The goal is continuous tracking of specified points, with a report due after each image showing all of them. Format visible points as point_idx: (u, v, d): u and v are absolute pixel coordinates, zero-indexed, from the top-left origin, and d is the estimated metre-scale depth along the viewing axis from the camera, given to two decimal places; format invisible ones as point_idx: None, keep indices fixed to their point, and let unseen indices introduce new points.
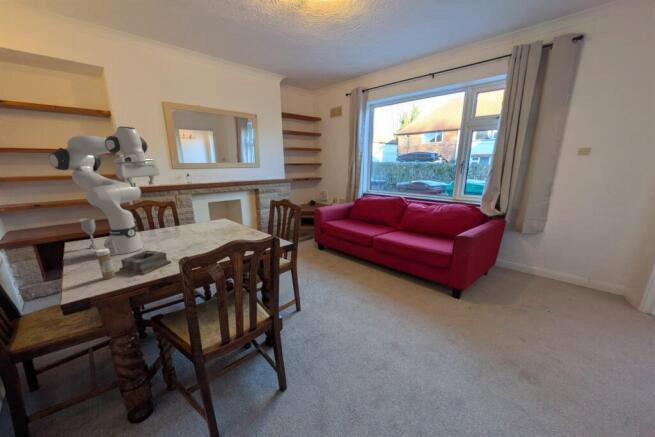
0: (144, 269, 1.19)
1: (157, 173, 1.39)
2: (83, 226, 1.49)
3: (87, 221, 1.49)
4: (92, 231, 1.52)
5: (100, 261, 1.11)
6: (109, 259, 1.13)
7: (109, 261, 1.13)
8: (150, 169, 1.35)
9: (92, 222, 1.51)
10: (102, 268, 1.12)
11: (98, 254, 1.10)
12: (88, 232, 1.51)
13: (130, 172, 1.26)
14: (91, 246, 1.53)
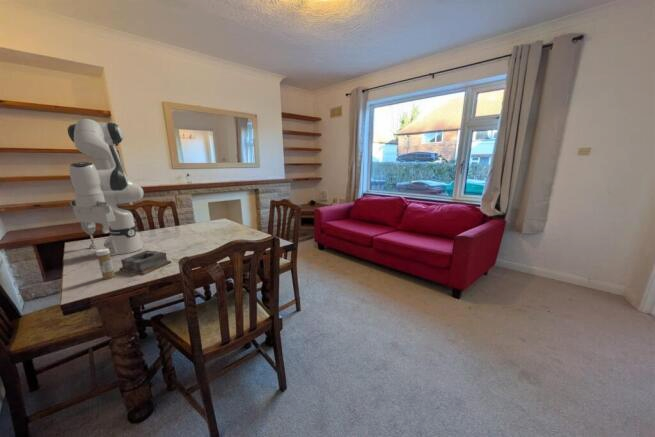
0: (144, 269, 1.19)
1: (104, 222, 1.05)
2: (83, 226, 1.49)
3: None
4: None
5: (100, 261, 1.11)
6: (109, 259, 1.13)
7: (109, 261, 1.13)
8: (97, 216, 1.05)
9: None
10: (102, 268, 1.12)
11: (98, 254, 1.10)
12: (88, 232, 1.51)
13: (82, 217, 1.09)
14: (91, 246, 1.53)
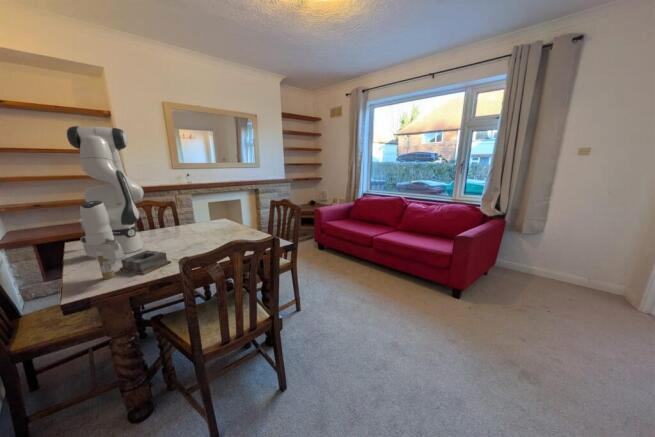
0: (144, 269, 1.19)
1: (113, 258, 1.09)
2: (83, 226, 1.49)
3: None
4: None
5: (100, 261, 1.11)
6: None
7: (109, 261, 1.13)
8: (107, 252, 1.09)
9: None
10: (102, 268, 1.12)
11: (98, 254, 1.10)
12: None
13: (92, 252, 1.13)
14: None
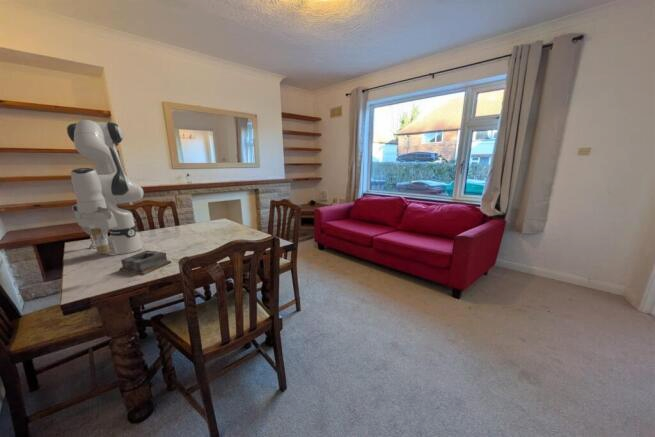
0: (144, 269, 1.19)
1: (105, 227, 1.05)
2: None
3: None
4: None
5: (94, 234, 1.08)
6: None
7: None
8: (99, 221, 1.06)
9: None
10: (96, 242, 1.09)
11: (91, 227, 1.07)
12: (88, 232, 1.51)
13: (84, 222, 1.09)
14: (91, 246, 1.53)
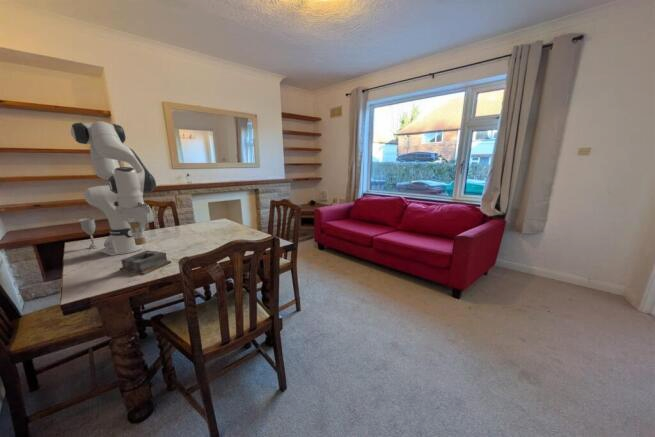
0: (144, 269, 1.19)
1: (144, 221, 1.16)
2: (83, 226, 1.49)
3: (87, 221, 1.49)
4: (92, 231, 1.52)
5: (133, 227, 1.18)
6: None
7: None
8: (138, 215, 1.16)
9: (92, 222, 1.51)
10: (135, 234, 1.19)
11: (131, 221, 1.17)
12: (88, 232, 1.51)
13: (123, 216, 1.20)
14: (91, 246, 1.53)
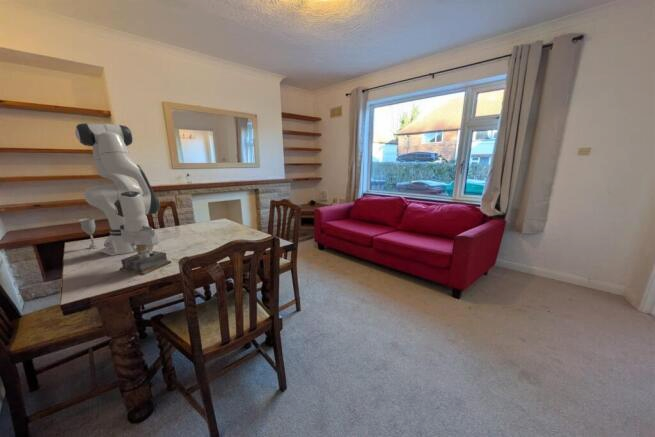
0: (144, 269, 1.19)
1: (149, 244, 1.18)
2: (83, 226, 1.49)
3: (87, 221, 1.49)
4: (92, 231, 1.52)
5: (139, 250, 1.21)
6: (146, 248, 1.23)
7: (146, 250, 1.23)
8: (143, 239, 1.19)
9: (92, 222, 1.51)
10: (140, 256, 1.22)
11: (137, 243, 1.20)
12: (88, 232, 1.51)
13: (128, 239, 1.22)
14: (91, 246, 1.53)
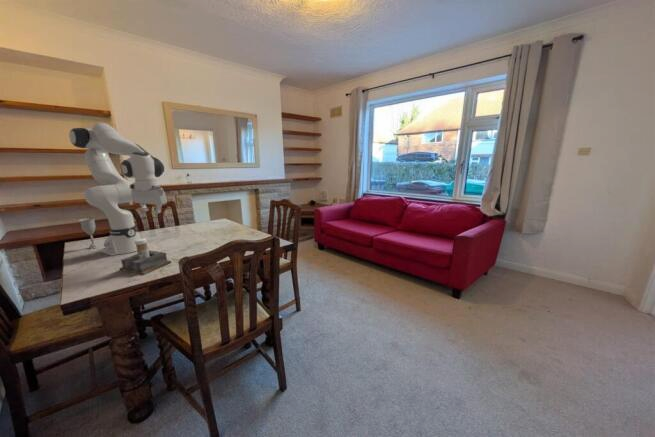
0: (144, 269, 1.19)
1: (158, 203, 1.24)
2: (83, 226, 1.49)
3: (87, 221, 1.49)
4: (92, 231, 1.52)
5: (139, 250, 1.21)
6: (146, 248, 1.23)
7: (146, 250, 1.23)
8: (152, 198, 1.24)
9: (92, 222, 1.51)
10: (140, 256, 1.22)
11: (137, 243, 1.20)
12: (88, 232, 1.51)
13: (138, 198, 1.28)
14: (91, 246, 1.53)
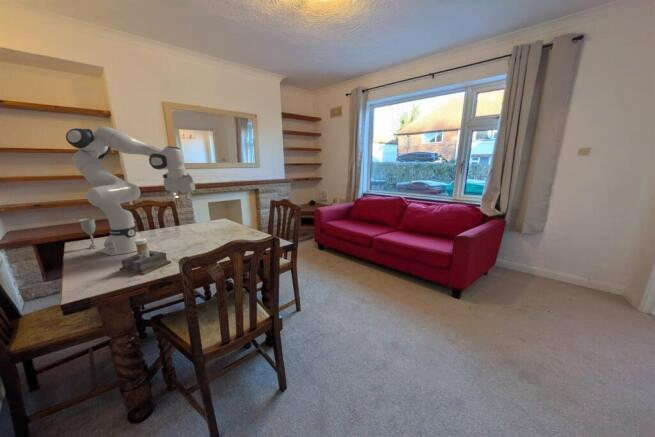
0: (144, 269, 1.19)
1: (188, 189, 1.44)
2: (83, 226, 1.49)
3: (87, 221, 1.49)
4: (92, 231, 1.52)
5: (139, 250, 1.21)
6: (146, 248, 1.23)
7: (146, 250, 1.23)
8: (183, 185, 1.45)
9: (92, 222, 1.51)
10: (140, 256, 1.22)
11: (137, 243, 1.20)
12: (88, 232, 1.51)
13: (170, 186, 1.48)
14: (91, 246, 1.53)
